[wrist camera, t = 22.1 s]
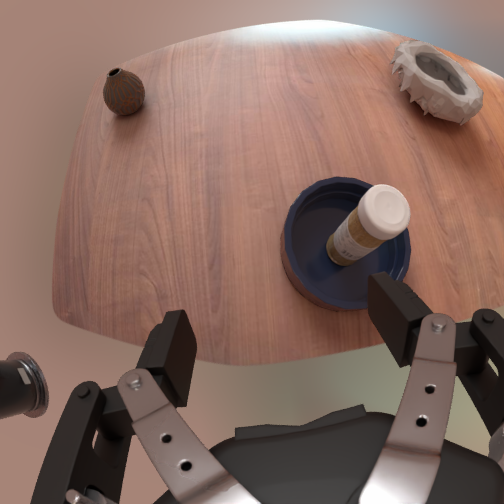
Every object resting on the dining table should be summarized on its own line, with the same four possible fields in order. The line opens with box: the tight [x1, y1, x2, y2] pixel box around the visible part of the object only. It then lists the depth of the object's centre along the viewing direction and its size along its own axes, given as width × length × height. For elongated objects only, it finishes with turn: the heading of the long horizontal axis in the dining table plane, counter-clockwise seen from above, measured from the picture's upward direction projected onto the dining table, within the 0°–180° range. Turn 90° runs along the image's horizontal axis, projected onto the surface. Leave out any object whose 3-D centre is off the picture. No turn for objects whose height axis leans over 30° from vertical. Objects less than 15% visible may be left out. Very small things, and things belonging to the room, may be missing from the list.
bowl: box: [389, 40, 484, 126], centre depth 38 cm, size 21×20×10 cm
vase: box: [103, 68, 145, 115], centre depth 36 cm, size 7×7×9 cm
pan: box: [280, 177, 411, 311], centre depth 32 cm, size 16×16×4 cm
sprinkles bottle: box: [326, 184, 410, 266], centre depth 27 cm, size 5×5×14 cm
